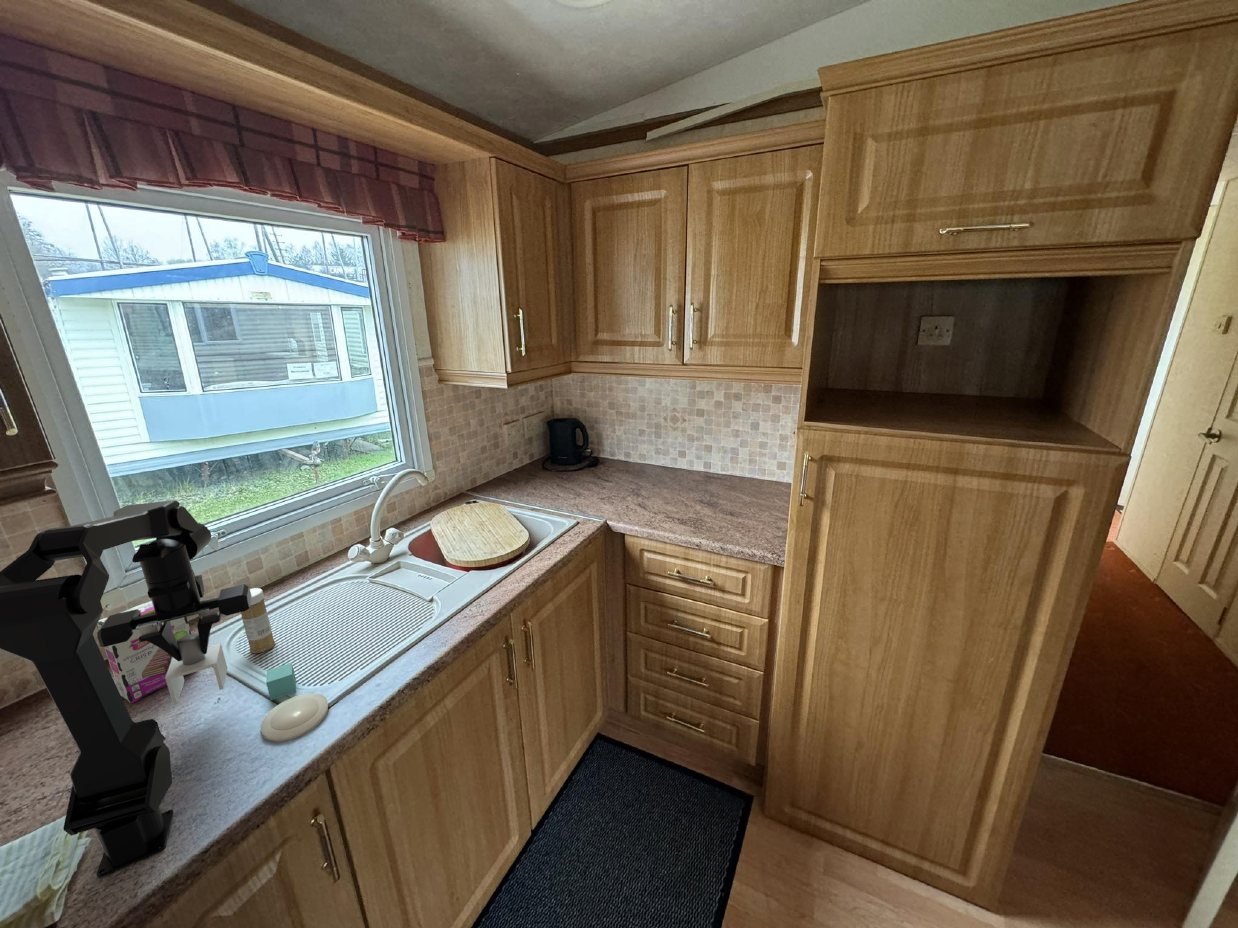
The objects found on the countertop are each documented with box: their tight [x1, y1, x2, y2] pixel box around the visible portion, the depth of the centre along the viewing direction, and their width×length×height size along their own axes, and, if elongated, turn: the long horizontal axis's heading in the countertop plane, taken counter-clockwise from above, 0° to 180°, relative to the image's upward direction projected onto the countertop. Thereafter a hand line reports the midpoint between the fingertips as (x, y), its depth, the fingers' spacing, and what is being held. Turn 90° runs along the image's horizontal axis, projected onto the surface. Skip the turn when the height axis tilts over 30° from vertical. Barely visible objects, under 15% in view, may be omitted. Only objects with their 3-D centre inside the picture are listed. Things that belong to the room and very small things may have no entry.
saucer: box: [260, 692, 329, 743], centre depth 86 cm, size 10×10×1 cm
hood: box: [165, 633, 228, 705], centre depth 84 cm, size 7×7×10 cm
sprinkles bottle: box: [240, 587, 276, 654], centre depth 103 cm, size 5×5×14 cm
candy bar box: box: [96, 600, 192, 704], centre depth 93 cm, size 11×5×16 cm, turn 154°
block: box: [265, 662, 297, 701], centre depth 92 cm, size 4×4×4 cm
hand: (193, 656), depth 84 cm, fingers closed on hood, 3 cm apart
